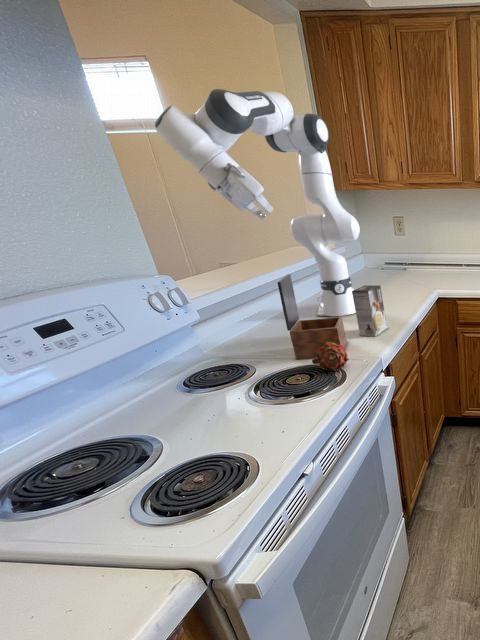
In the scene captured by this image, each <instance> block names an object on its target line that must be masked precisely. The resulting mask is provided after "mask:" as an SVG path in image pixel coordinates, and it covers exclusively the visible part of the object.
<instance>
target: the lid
mask: <svg viewBox="0 0 480 640" xmlns="http://www.w3.org/2000/svg"><path fill="white" fill-rule="evenodd" d="M277 288H278V293H279V296H280V302H281V306H282V311H283V317H284V320H285V325H286V330H287V332H290V331H291V330H292V328H293V327H294V326H295V324H296V323H297V322H298V321H299V320H300V315H299V311H298V305H297V301H296V296H295V295H296V294H295V290H294V286H293V279H292V275H291V274H289V273H288V274H287V275H285V276H284V277H281V279H280V280H278V281H277Z"/></svg>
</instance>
